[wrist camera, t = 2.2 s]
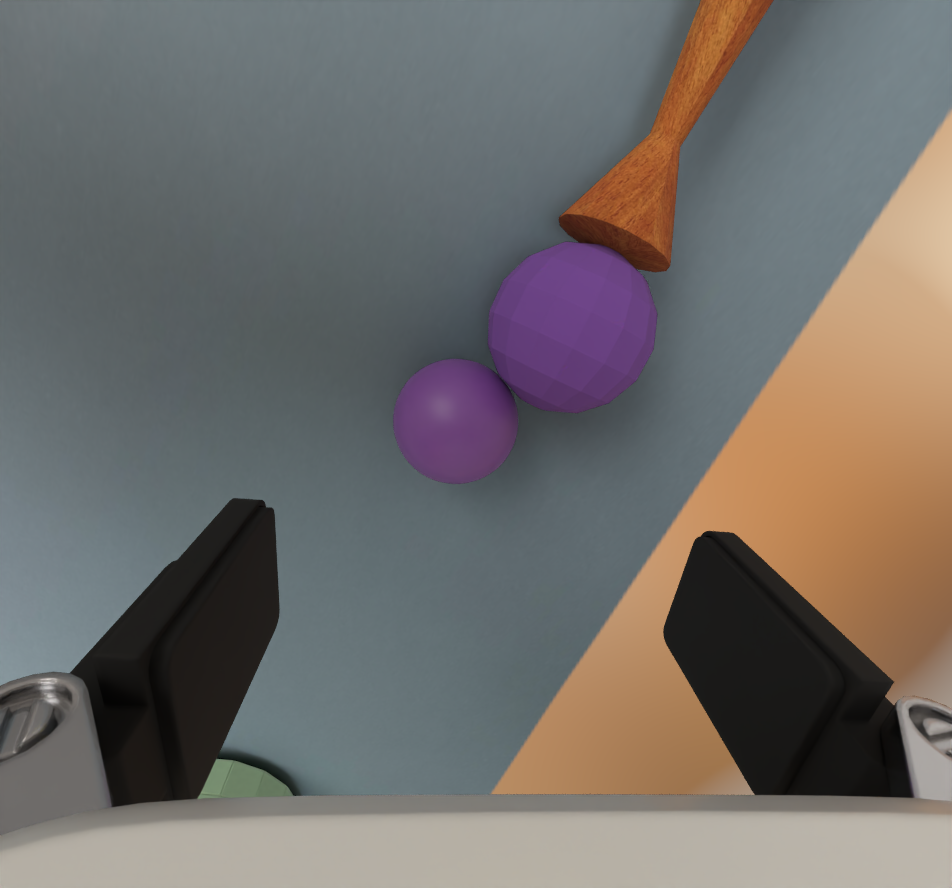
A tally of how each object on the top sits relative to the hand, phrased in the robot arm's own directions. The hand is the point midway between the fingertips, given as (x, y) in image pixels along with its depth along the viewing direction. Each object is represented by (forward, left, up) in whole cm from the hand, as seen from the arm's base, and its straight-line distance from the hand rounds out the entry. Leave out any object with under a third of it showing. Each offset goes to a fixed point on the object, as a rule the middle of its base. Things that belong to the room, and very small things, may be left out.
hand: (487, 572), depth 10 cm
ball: (0, 0, -9) cm, 9 cm away
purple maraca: (+6, +11, -12) cm, 17 cm away
